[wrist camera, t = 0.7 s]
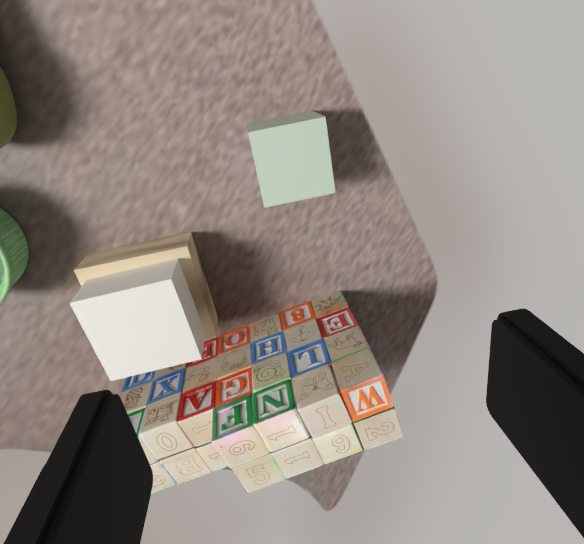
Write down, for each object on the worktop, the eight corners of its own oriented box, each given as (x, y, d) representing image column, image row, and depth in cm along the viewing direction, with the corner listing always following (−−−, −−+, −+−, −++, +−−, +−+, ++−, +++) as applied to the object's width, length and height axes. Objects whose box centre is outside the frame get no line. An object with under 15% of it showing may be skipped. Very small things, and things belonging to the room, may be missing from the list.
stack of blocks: (160, 413, 41) (132, 537, 30) (128, 368, 38) (84, 486, 27) (359, 339, 40) (406, 439, 29) (342, 287, 37) (386, 376, 26)
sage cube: (246, 123, 30) (248, 132, 26) (312, 110, 30) (325, 116, 26) (260, 189, 32) (264, 207, 28) (321, 176, 32) (335, 192, 28)
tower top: (86, 279, 30) (69, 303, 27) (178, 258, 31) (171, 279, 27) (122, 352, 34) (110, 381, 30) (205, 332, 34) (201, 359, 31)
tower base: (89, 251, 33) (73, 270, 30) (191, 230, 33) (187, 246, 30) (126, 335, 37) (116, 359, 34) (218, 315, 37) (216, 337, 34)
